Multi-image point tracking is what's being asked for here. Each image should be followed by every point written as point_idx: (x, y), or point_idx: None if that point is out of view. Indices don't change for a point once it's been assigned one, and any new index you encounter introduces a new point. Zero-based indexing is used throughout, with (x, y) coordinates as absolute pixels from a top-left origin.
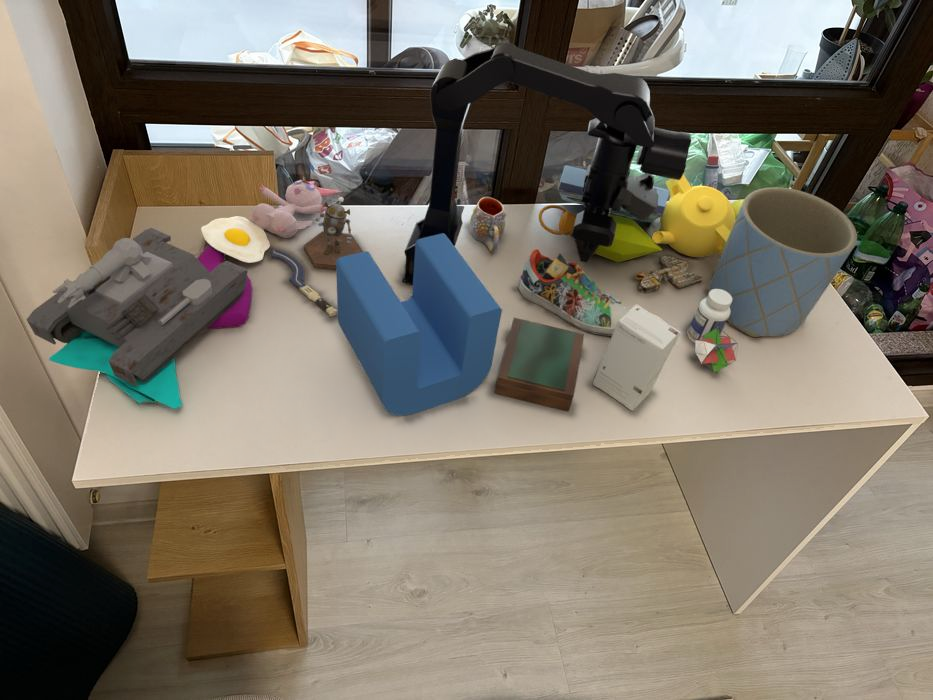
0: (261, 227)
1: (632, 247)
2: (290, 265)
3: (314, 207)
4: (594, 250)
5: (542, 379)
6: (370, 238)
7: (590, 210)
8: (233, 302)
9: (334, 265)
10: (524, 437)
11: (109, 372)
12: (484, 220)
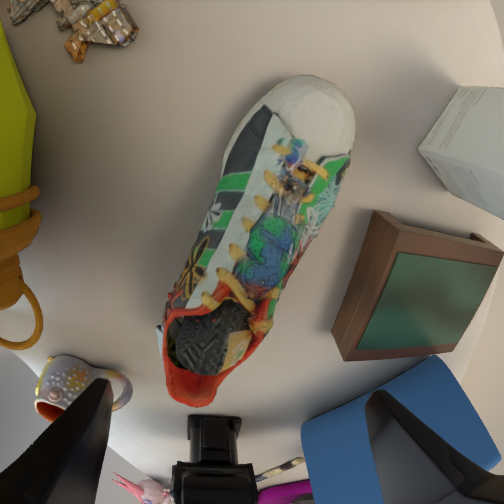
0: None
1: (6, 93)
2: None
3: (169, 497)
4: (452, 449)
5: (475, 300)
6: (164, 457)
7: (87, 489)
8: (310, 495)
9: None
10: (490, 286)
11: None
12: None
